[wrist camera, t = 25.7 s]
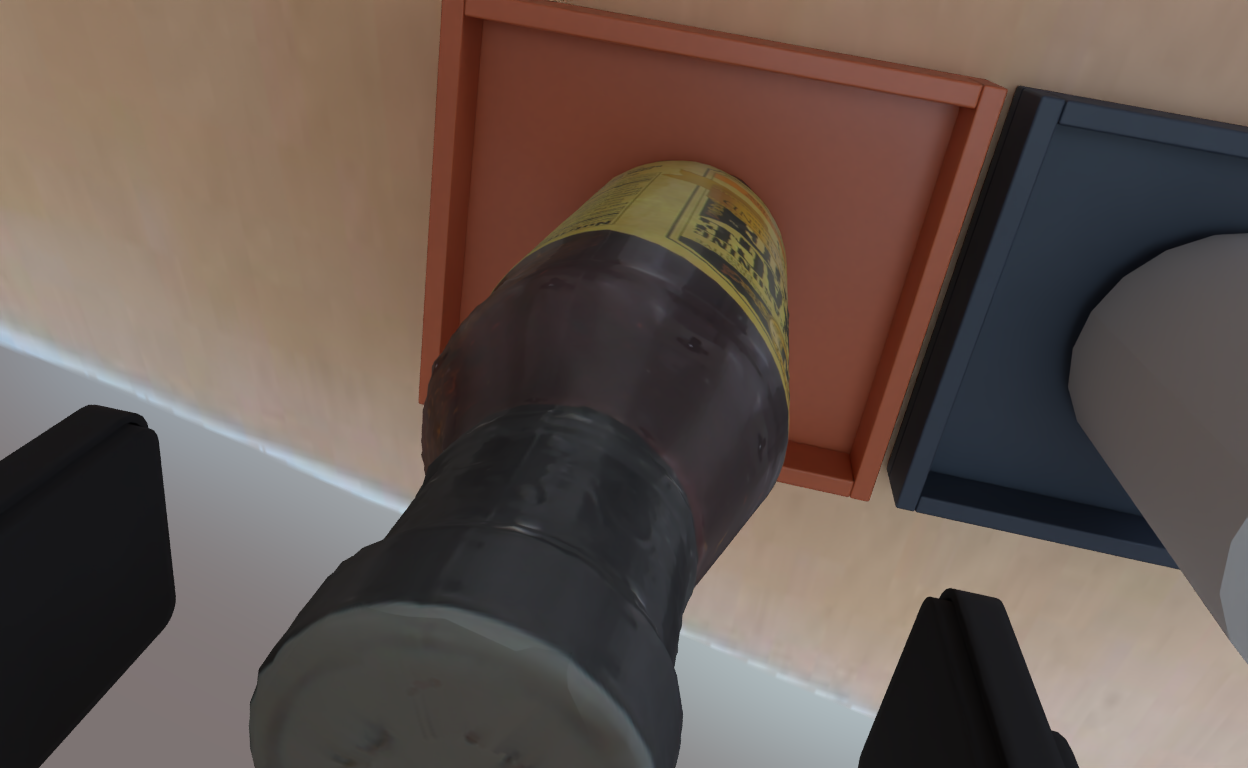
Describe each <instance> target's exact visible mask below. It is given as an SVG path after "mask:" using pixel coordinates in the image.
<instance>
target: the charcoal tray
mask: <svg viewBox="0 0 1248 768" xmlns="http://www.w3.org/2000/svg"><path fill="white" fill-rule="evenodd" d="M1243 233H1248V127H1246V126H1241V125H1235V124H1229V123H1224V122H1218V121H1213V120H1207V119H1202V118H1196V117H1191V116H1185V115H1180V114H1174V113H1168V112H1163V111H1157V110H1152V109H1146V108H1141V107H1135V106H1130V105H1124V104H1119V103H1113V102H1107V101H1102V100H1096V99H1091V98H1085V97H1080V96H1074V95H1069V94H1063V93H1058V92H1052V91H1047V90H1041V89H1035V88H1030V87H1024V86H1018V87H1017V89H1016V92H1015V95H1014V98H1013V101H1012V104H1011V107H1010V110H1009V113H1008V115H1007V118H1006V121H1005V124H1004V127H1003V130H1002V133H1001V136H1000V139H999V142H998V145H997V148H996V151H995V153H994V156H993V159H992V162H991V165H990V168H989V171H988V174H987V177H986V180H985V183H984V186H983V188H982V191H981V194H980V197H979V200H978V203H977V206H976V209H975V212H974V215H973V218H972V221H971V224H970V226H969V229H968V232H967V235H966V238H965V241H964V244H963V247H962V250H961V253H960V256H959V259H958V262H957V264H956V267H955V270H954V273H953V276H952V279H951V282H950V285H949V288H948V291H947V294H946V297H945V299H944V302H943V305H942V308H941V311H940V314H939V317H938V320H937V323H936V326H935V329H934V332H933V335H932V337H931V340H930V343H929V346H928V349H927V352H926V355H925V358H924V361H923V364H922V367H921V370H920V373H919V375H918V378H917V381H916V384H915V387H914V390H913V393H912V396H911V399H910V402H909V405H908V408H907V411H906V413H905V416H904V419H903V422H902V425H901V428H900V431H899V434H898V437H897V440H896V443H895V446H894V448H893V451H892V454H891V457H890V460H889V463H888V466H887V472H888V476H889V480H890V484H891V488H892V493H893V497H894V501H895V505H896V507H897V508H900V509H905V510H910V511H914V510H915V511H916V512H919V513H923V514H928V515H932V516H937V517H942V518H946V519H951V520H955V521H960V522H964V523H969V524H974V525H978V526H983V527H987V528H992V529H996V530H1001V531H1006V532H1010V533H1015V534H1019V535H1024V536H1028V537H1033V538H1038V539H1042V540H1047V541H1051V542H1056V543H1060V544H1065V545H1070V546H1074V547H1079V548H1083V549H1088V550H1092V551H1097V552H1102V553H1106V554H1111V555H1115V556H1120V557H1124V558H1129V559H1134V560H1138V561H1143V562H1147V563H1152V564H1156V565H1161V566H1166V567H1170V568H1175V569H1179V570H1180V568H1179V567H1178V566H1177V564H1176V563H1175V561H1174V560H1173V558H1172V557H1171V555H1170V554H1169V553H1168V551H1167V550H1166V548H1165V547H1164V545H1163V544H1162V543H1161V541H1160V540H1159V538H1158V537H1157V535H1156V534H1155V532H1154V531H1153V530H1152V528H1151V527H1150V525H1149V524H1148V522H1147V521H1146V520H1145V518H1144V517H1143V515H1142V514H1141V512H1140V511H1139V509H1138V508H1137V507H1136V505H1135V504H1134V502H1133V501H1132V499H1131V498H1130V497H1129V495H1128V494H1127V492H1126V491H1125V489H1124V488H1123V486H1122V485H1121V484H1120V482H1119V481H1118V479H1117V478H1116V476H1115V475H1114V474H1113V472H1112V471H1111V469H1110V468H1109V466H1108V465H1107V464H1106V462H1105V461H1104V459H1103V458H1102V456H1101V455H1100V453H1099V452H1098V451H1097V449H1096V448H1095V446H1094V445H1093V443H1092V442H1091V441H1090V439H1089V438H1088V436H1087V435H1086V433H1085V432H1084V430H1083V429H1082V428H1081V426H1080V425H1079V423H1078V422H1077V419H1076V415H1075V411H1074V408H1073V404H1072V400H1071V396H1070V392H1069V389H1068V383H1069V375H1070V367H1071V359H1072V351H1073V347H1074V345H1075V343H1076V341H1077V339H1078V337H1079V335H1080V333H1081V331H1082V329H1083V327H1084V325H1085V323H1086V321H1087V319H1088V317H1089V315H1090V313H1091V311H1092V310H1093V309H1094V308H1095V307H1096V306H1097V305H1098V304H1099V303H1100V302H1101V301H1102V299H1103V298H1104V297H1105V296H1106V295H1107V294H1108V293H1109V292H1110V291H1111V290H1112V289H1113V288H1114V287H1115V286H1116V285H1117V283H1118V282H1119V281H1120V280H1121V279H1122V278H1123V277H1124V276H1126V275H1128V274H1129V273H1131V272H1132V271H1134V270H1136V269H1137V268H1139V267H1140V266H1142V265H1144V264H1145V263H1147V262H1148V261H1150V260H1152V259H1153V258H1155V257H1156V256H1158V255H1160V254H1161V253H1163V252H1164V251H1166V250H1169V249H1172V248H1176V247H1179V246H1182V245H1185V244H1188V243H1191V242H1194V241H1197V240H1201V239H1204V238H1207V237H1210V236H1213V235H1222V234H1243Z"/></svg>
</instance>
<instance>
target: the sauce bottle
mask: <svg viewBox="0 0 1248 768" xmlns="http://www.w3.org/2000/svg"><path fill="white" fill-rule="evenodd" d="M789 380H790V376H789V311H788V291H787V262H786V254H785V248H784V244H783V240H782V237H781V233H780V230H779V228H778V226H777V224H776V222H775V220H774V218H773V217H772V215H771V213H770V211H769V209H768V208H767V207H766V205H765V204H764V203H763V201H762V200H761V199H760V198H759V197H758V196H757V195H756V194H755V193H754V192H753V191H752V190H751V188H750V187H749V186H748V185H747V184H746V183H745V182H744V181H743V180H742V179H740V178H739V177H736V176H734V175H729V174H728V173H726V172H724V171H722V170H720V169H717V168H715V167H713V166H710V165H706V164H702V163H698V162H693V161H675V160H662V161H657V162H653V163H649V164H645V165H641V166H638V167H635V168H633V169H630V170H628V171H626V172H624V173H622V174H620V175H617V176H615V177H614V178H612V179H611V180H610V181H609V182H608V183H607V184H606V185H605V186H603V187H602V188H601V189H600V190H599V191H598V192H597V193H595V194H594V195H593V196H592V197H591V198H590V199H589V200H588V201H586V202H585V203H584V204H583V205H582V206H581V207H580V208H579V209H578V210H577V211H575V212H574V213H573V214H572V215H571V216H569V217H568V218H567V219H566V220H565V221H564V222H563V223H561V224H560V225H559V226H558V227H557V228H556V229H555V230H554V231H553V232H551V233H550V234H549V235H548V236H547V237H546V238H545V239H544V240H543V241H542V242H540V243H539V244H538V245H537V246H536V247H535V248H534V249H533V250H532V251H531V252H530V253H528V254H527V255H526V256H525V257H524V258H523V259H522V260H521V261H519V262H518V263H517V264H516V265H515V266H514V267H513V268H512V269H511V270H510V271H509V272H508V273H507V274H506V275H505V276H504V277H503V278H502V279H501V281H500V282H499V283H498V284H497V286H496V287H495V288H494V289H493V291H492V293H491V294H490V296H489V297H488V298H487V299H486V300H485V301H484V302H482V303H481V304H479V305H477V306H476V307H475V308H474V310H473V311H472V312H471V313H470V314H469V316H468V317H467V318H466V319H465V320H464V321H463V322H462V323H461V324H460V326H459V327H458V329H457V330H456V332H455V333H454V334H452V336H451V338H450V340H449V342H448V343H447V345H446V346H445V349H444V350H443V352H442V353H441V354H440V355H439V357H438V358H437V359H436V360H435V361H434V363H433V365H432V375H431V378H430V381H429V383H428V390H427V397H426V400H425V402H424V408H423V424H422V439H421V443H422V450H423V451H422V454H421V455H422V459H423V462H424V471H425V475H426V476H425V479H424V482H423V485H422V486H421V488H420V490H419V491H418V493H417V495H416V497H415V499H414V500H413V501H412V502H411V504H410V505H409V507H408V508H407V510H406V511H405V512H404V513H403V515H402V516H401V517H400V519H399V520H398V521H397V522H396V524H395V525H394V526H393V528H392V529H391V530H390V532H389V533H388V534H387V536H386V537H385V538H384V540H381V541H379V542H376V543H374V544H371V545H369V546H366V547H364V548H362V549H361V550H360V551H359V552H357V553H356V554H355V555H354V556H352V557H350V558H348V559H347V560H345V561H343V562H342V563H341V564H340V565H339V566H338V568H337V569H336V570H335V572H334V573H332V574H331V575H330V576H328V577H327V579H326V580H325V581H324V583H323V584H322V585H321V586H320V588H319V589H318V590H317V591H316V593H315V594H314V595H313V597H312V598H311V599H310V600H309V602H308V603H307V604H306V605H305V607H304V608H303V609H302V610H301V612H300V613H299V614H298V616H297V617H296V619H295V620H294V622H293V623H292V624H291V626H290V628H289V629H288V630H287V632H286V633H285V634H284V635H283V637H282V638H281V639H280V640H279V642H278V643H277V644H276V645H275V647H274V648H273V649H272V651H271V652H270V654H269V655H268V657H267V658H266V660H265V661H264V662H263V664H262V665H261V667H260V668H259V672H258V681H257V686H256V689H255V691H254V694H253V696H252V699H251V701H250V721H249V733H250V749H251V753H252V757H253V761H254V766H255V768H675V767H676V763H677V759H678V755H679V749H680V744H681V731H682V722H683V720H682V719H683V711H682V705H681V698H680V692H679V686H678V680H677V675H676V672H675V669H674V666H675V660H676V655H677V653H678V641H679V634H680V630H681V627H682V615H683V613H684V610H685V608H686V605H687V603H688V600H689V599H690V597H691V595H692V593H693V589H694V587H695V586H696V585H697V584H698V583H699V581H700V580H701V579H702V578H703V576H704V575H705V574H706V573H707V571H708V570H709V569H710V568H711V566H712V565H713V564H714V563H715V561H716V560H717V559H718V557H719V556H720V555H721V554H722V552H723V551H724V550H725V549H726V547H727V546H728V545H729V544H730V542H731V541H732V540H733V538H734V537H735V536H736V535H737V533H738V532H739V531H740V530H741V528H742V527H743V526H744V525H745V523H746V522H747V521H748V520H749V518H750V517H751V516H752V514H753V513H754V512H755V511H756V509H757V508H758V507H759V506H760V504H761V503H762V502H763V501H764V500H765V498H766V497H767V496H768V494H769V493H770V491H771V490H772V488H773V487H774V485H775V483H776V481H777V479H778V477H779V475H780V472H781V469H782V466H783V463H784V460H785V455H786V450H787V445H788V437H789V406H790V390H789Z"/></svg>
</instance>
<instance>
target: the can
mask: <svg viewBox="0 0 1248 768" xmlns="http://www.w3.org/2000/svg"><path fill="white" fill-rule="evenodd" d="M1068 389H1069V392H1070V396H1071V400H1072V404H1073V408H1074V411H1075V415H1076V419H1077V422H1078V423H1079V425H1080V426H1081V428H1082V429H1083V430H1084V432H1085V433H1086V435H1087V436H1088V438H1089V439H1090V441H1091V442H1092V443H1093V445H1094V446H1095V448H1096V449H1097V451H1098V452H1099V453H1100V455H1101V456H1102V458H1103V459H1104V461H1105V462H1106V464H1107V465H1108V466H1109V468H1110V469H1111V471H1112V472H1113V474H1114V475H1115V476H1116V478H1117V479H1118V481H1119V482H1120V484H1121V485H1122V486H1123V488H1124V489H1125V491H1126V492H1127V494H1128V495H1129V497H1130V498H1131V499H1132V501H1133V502H1134V504H1135V505H1136V507H1137V508H1138V509H1139V511H1140V512H1141V514H1142V515H1143V517H1144V518H1145V520H1146V521H1147V522H1148V524H1149V525H1150V527H1151V528H1152V530H1153V531H1154V532H1155V534H1156V535H1157V537H1158V538H1159V540H1160V541H1161V543H1162V544H1163V545H1164V547H1165V548H1166V550H1167V551H1168V553H1169V554H1170V555H1171V557H1172V558H1173V560H1174V561H1175V563H1176V564H1177V566H1178V567H1179V568H1180V570H1181V571H1182V573H1183V574H1184V576H1185V577H1186V578H1187V580H1188V581H1189V583H1190V584H1191V586H1192V587H1193V589H1194V590H1195V591H1196V593H1197V594H1198V596H1199V597H1200V599H1201V600H1202V601H1203V603H1204V604H1205V606H1206V607H1207V609H1208V610H1209V611H1210V613H1211V614H1212V616H1213V617H1214V619H1215V620H1216V622H1217V623H1218V624H1219V626H1220V627H1221V629H1222V630H1223V632H1224V633H1225V634H1226V636H1227V637H1228V639H1229V640H1230V642H1231V643H1232V644H1233V645H1234V647H1235V648H1236V649H1237V651H1238V652H1239V653H1240V655H1241V656H1242V657H1243V659H1244V660H1245V661H1246V663H1247V664H1248V233H1243V234H1222V235H1213V236H1210V237H1207V238H1204V239H1201V240H1197V241H1194V242H1191V243H1188V244H1185V245H1182V246H1179V247H1176V248H1172V249H1169V250H1166V251H1164V252H1163V253H1161V254H1160V255H1158V256H1156V257H1155V258H1153V259H1152V260H1150V261H1148V262H1147V263H1145V264H1144V265H1142V266H1140V267H1139V268H1137V269H1136V270H1134V271H1132V272H1131V273H1129V274H1128V275H1126V276H1124V277H1123V278H1122V279H1121V280H1120V281H1119V282H1118V283H1117V285H1116V286H1115V287H1114V288H1113V289H1112V290H1111V291H1110V292H1109V293H1108V294H1107V295H1106V296H1105V297H1104V298H1103V299H1102V301H1101V302H1100V303H1099V304H1098V305H1097V306H1096V307H1095V308H1094V309H1093V310H1092V311H1091V313H1090V315H1089V317H1088V319H1087V321H1086V323H1085V325H1084V327H1083V329H1082V331H1081V333H1080V335H1079V337H1078V339H1077V341H1076V343H1075V345H1074V347H1073V351H1072V359H1071V367H1070V375H1069V383H1068Z"/></svg>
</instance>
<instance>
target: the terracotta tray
mask: <svg viewBox="0 0 1248 768" xmlns="http://www.w3.org/2000/svg"><path fill="white" fill-rule="evenodd" d="M1007 92H1008V89H1006V88H1004V87H1002V86H999V85H997V84H995V83H992V82H990V81H988V80H986V79H980V78H975V77H969V76H963V75H958V74H952V73H947V72H941V71H936V70H930V69H925V68H919V67H914V66H908V65H902V64H897V63H891V62H886V61H880V60H875V59H869V58H864V57H858V56H853V55H847V54H842V53H836V52H830V51H825V50H819V49H814V48H808V47H803V46H797V45H792V44H786V43H781V42H775V41H769V40H764V39H758V38H753V37H747V36H742V35H736V34H731V33H725V32H720V31H714V30H708V29H703V28H697V27H692V26H686V25H681V24H675V23H670V22H664V21H659V20H653V19H647V18H642V17H636V16H631V15H625V14H620V13H614V12H609V11H603V10H598V9H592V8H587V7H581V6H575V5H570V4H564V3H559V2H553V1H548V0H442V12H441V29H440V46H439V63H438V80H437V97H436V114H435V131H434V148H433V165H432V182H431V199H430V216H429V233H428V250H427V267H426V284H425V301H424V318H423V335H422V352H421V369H420V386H419V404H424V402H425V400H426V397H427V390H428V383H429V381H430V378H431V375H432V365H433V363H434V361H435V360H436V359H437V358H438V357H439V355H440V354H441V353H442V352H443V350H444V349H445V346H446V345H447V343H448V342H449V340H450V338H451V336H452V334H454V333H455V332H456V330H457V329H458V327H459V326H460V324H461V323H462V322H463V321H464V320H465V319H466V318H467V317H468V316H469V314H470V313H471V312H472V311H473V310H474V308H475V307H476V306H477V305H479V304H481V303H482V302H484V301H485V300H486V299H487V298H488V297H489V296H490V294H491V293H492V291H493V289H494V288H495V287H496V286H497V284H498V283H499V282H500V281H501V279H502V278H503V277H504V276H505V275H506V274H507V273H508V272H509V271H510V270H511V269H512V268H513V267H514V266H515V265H516V264H517V263H518V262H519V261H521V260H522V259H523V258H524V257H525V256H526V255H527V254H528V253H530V252H531V251H532V250H533V249H534V248H535V247H536V246H537V245H538V244H539V243H540V242H542V241H543V240H544V239H545V238H546V237H547V236H548V235H549V234H550V233H551V232H553V231H554V230H555V229H556V228H557V227H558V226H559V225H560V224H561V223H563V222H564V221H565V220H566V219H567V218H568V217H569V216H571V215H572V214H573V213H574V212H575V211H577V210H578V209H579V208H580V207H581V206H582V205H583V204H584V203H585V202H586V201H588V200H589V199H590V198H591V197H592V196H593V195H594V194H595V193H597V192H598V191H599V190H600V189H601V188H602V187H603V186H605V185H606V184H607V183H608V182H609V181H610V180H611V179H612V178H614V177H615V176H617V175H620V174H622V173H624V172H626V171H628V170H630V169H633V168H635V167H638V166H641V165H645V164H649V163H653V162H657V161H662V160H675V161H693V162H698V163H702V164H706V165H710V166H713V167H715V168H717V169H720V170H722V171H724V172H726V173H728V174H729V175H734V176H736V177H739V178H740V179H742V180H743V181H744V182H745V183H746V184H747V185H748V186H749V187H750V188H751V190H752V191H753V192H754V193H755V194H756V195H757V196H758V197H759V198H760V199H761V200H762V201H763V203H764V204H765V205H766V207H767V208H768V209H769V211H770V213H771V215H772V217H773V218H774V220H775V222H776V224H777V226H778V228H779V230H780V233H781V237H782V240H783V244H784V248H785V254H786V262H787V291H788V311H789V376H790V380H789V390H790V406H789V437H788V445H787V450H786V455H785V460H784V463H783V466H782V469H781V472H780V475H779V477H778V479H777V482H782V483H786V484H791V485H795V486H800V487H804V488H809V489H814V490H818V491H823V492H827V493H832V494H836V495H841V496H846V497H849V496H850V497H851V498H854V499H858V500H863V501H869V500H870V497H871V494H872V491H873V488H874V485H875V482H876V479H877V476H878V473H879V470H880V467H881V464H882V461H883V458H884V455H885V452H886V449H887V446H888V444H889V441H890V438H891V435H892V432H893V429H894V426H895V423H896V420H897V417H898V414H899V411H900V408H901V405H902V402H903V399H904V396H905V393H906V390H907V387H908V384H909V381H910V378H911V376H912V373H913V370H914V367H915V364H916V361H917V358H918V355H919V352H920V349H921V346H922V343H923V340H924V337H925V334H926V331H927V328H928V325H929V322H930V319H931V316H932V313H933V311H934V308H935V305H936V302H937V299H938V296H939V293H940V290H941V287H942V284H943V281H944V278H945V275H946V272H947V269H948V266H949V263H950V260H951V257H952V254H953V251H954V248H955V245H956V243H957V240H958V237H959V234H960V231H961V228H962V225H963V222H964V219H965V216H966V213H967V210H968V207H969V204H970V201H971V198H972V195H973V192H974V189H975V186H976V183H977V180H978V178H979V175H980V172H981V169H982V166H983V163H984V160H985V157H986V154H987V151H988V148H989V145H990V142H991V139H992V136H993V133H994V130H995V127H996V124H997V121H998V118H999V115H1000V112H1001V110H1002V107H1003V104H1004V101H1005V98H1006V95H1007Z"/></svg>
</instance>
